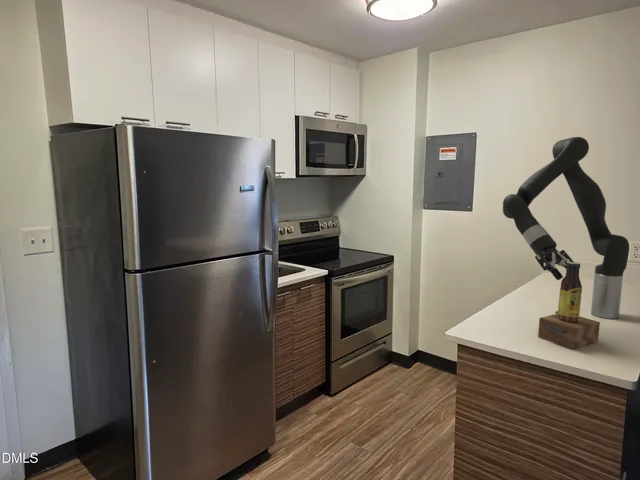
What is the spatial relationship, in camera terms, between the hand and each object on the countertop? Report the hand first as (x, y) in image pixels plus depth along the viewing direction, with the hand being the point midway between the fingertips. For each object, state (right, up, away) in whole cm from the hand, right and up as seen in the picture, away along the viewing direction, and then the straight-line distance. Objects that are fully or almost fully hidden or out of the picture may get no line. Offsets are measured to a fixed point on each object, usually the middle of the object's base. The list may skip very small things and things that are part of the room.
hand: (568, 277), depth 136 cm
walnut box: (+1, -22, +2) cm, 22 cm away
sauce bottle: (0, -15, +1) cm, 15 cm away
